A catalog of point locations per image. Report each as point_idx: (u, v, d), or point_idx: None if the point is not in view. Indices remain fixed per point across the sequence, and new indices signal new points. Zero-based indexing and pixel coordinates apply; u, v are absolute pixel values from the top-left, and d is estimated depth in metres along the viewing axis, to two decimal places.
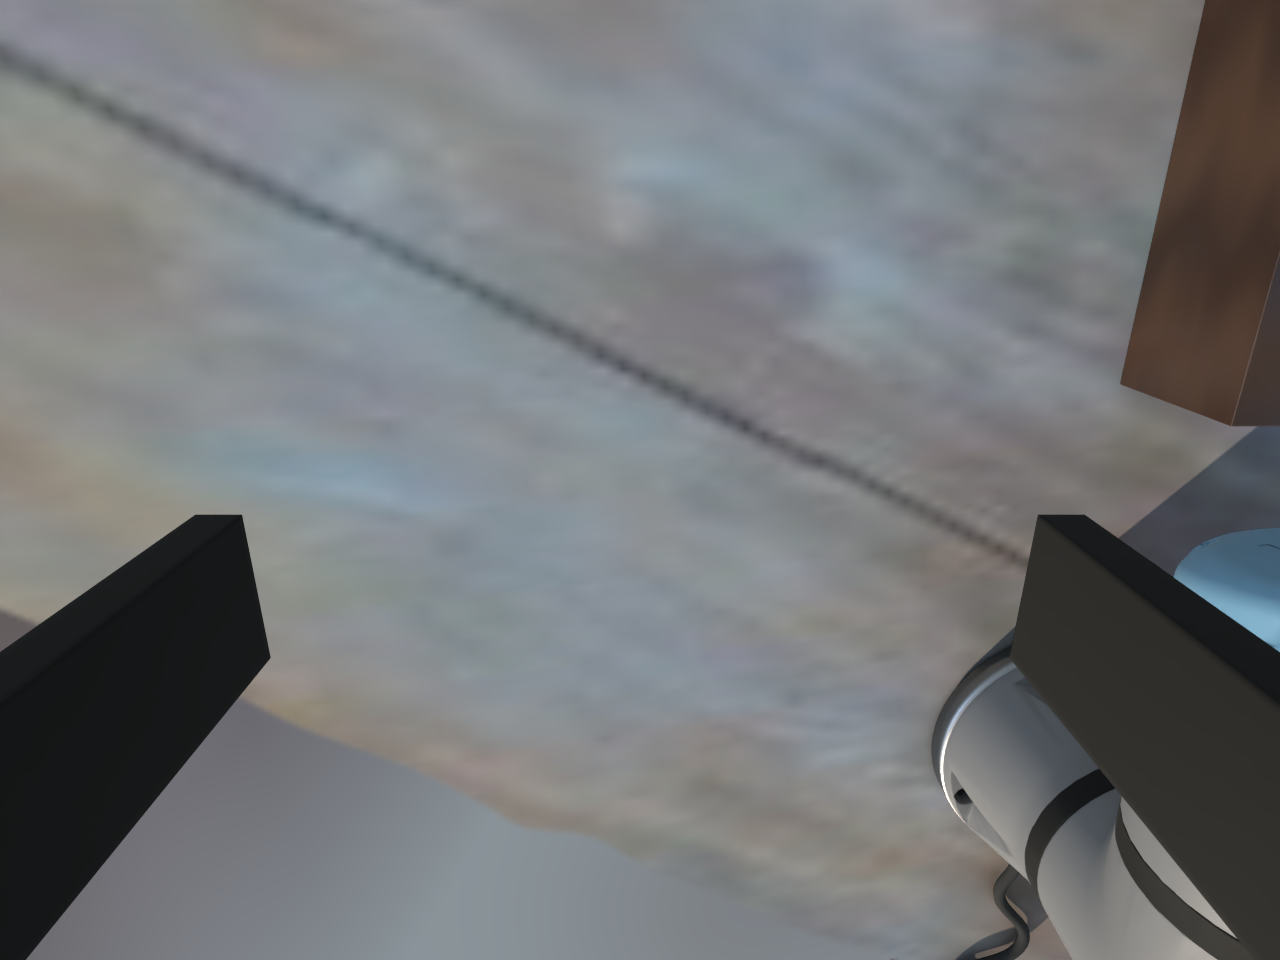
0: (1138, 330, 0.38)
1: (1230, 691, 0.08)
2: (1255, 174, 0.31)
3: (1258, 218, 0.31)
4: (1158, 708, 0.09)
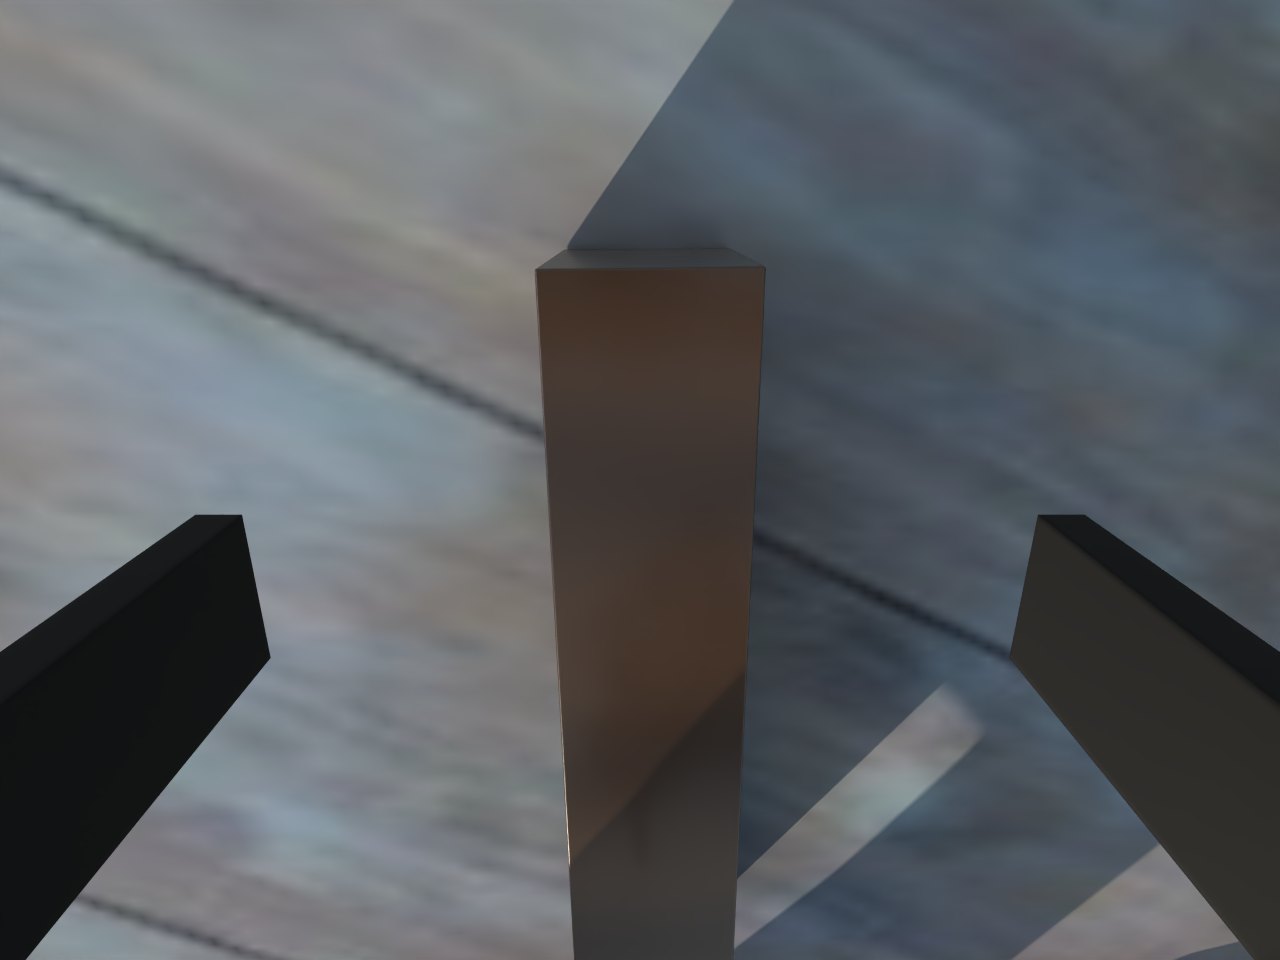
0: None
1: (1230, 691, 0.08)
2: None
3: None
4: (1158, 708, 0.09)
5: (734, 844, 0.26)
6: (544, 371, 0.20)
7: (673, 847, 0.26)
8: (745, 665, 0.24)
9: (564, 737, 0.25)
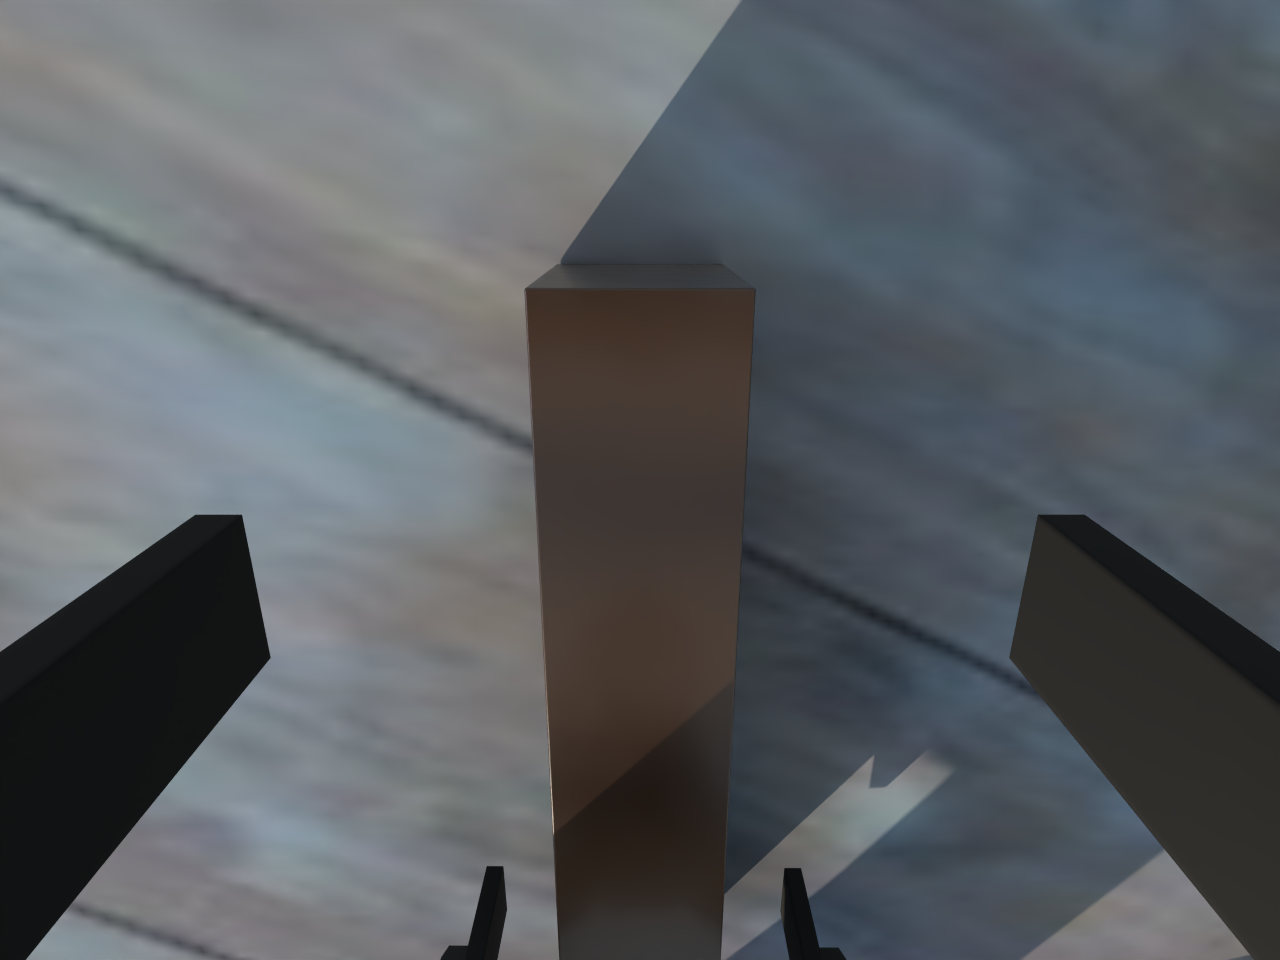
0: None
1: (1229, 691, 0.08)
2: None
3: None
4: (1158, 708, 0.09)
5: (721, 861, 0.26)
6: (533, 390, 0.20)
7: (660, 864, 0.26)
8: (733, 684, 0.24)
9: (551, 753, 0.25)
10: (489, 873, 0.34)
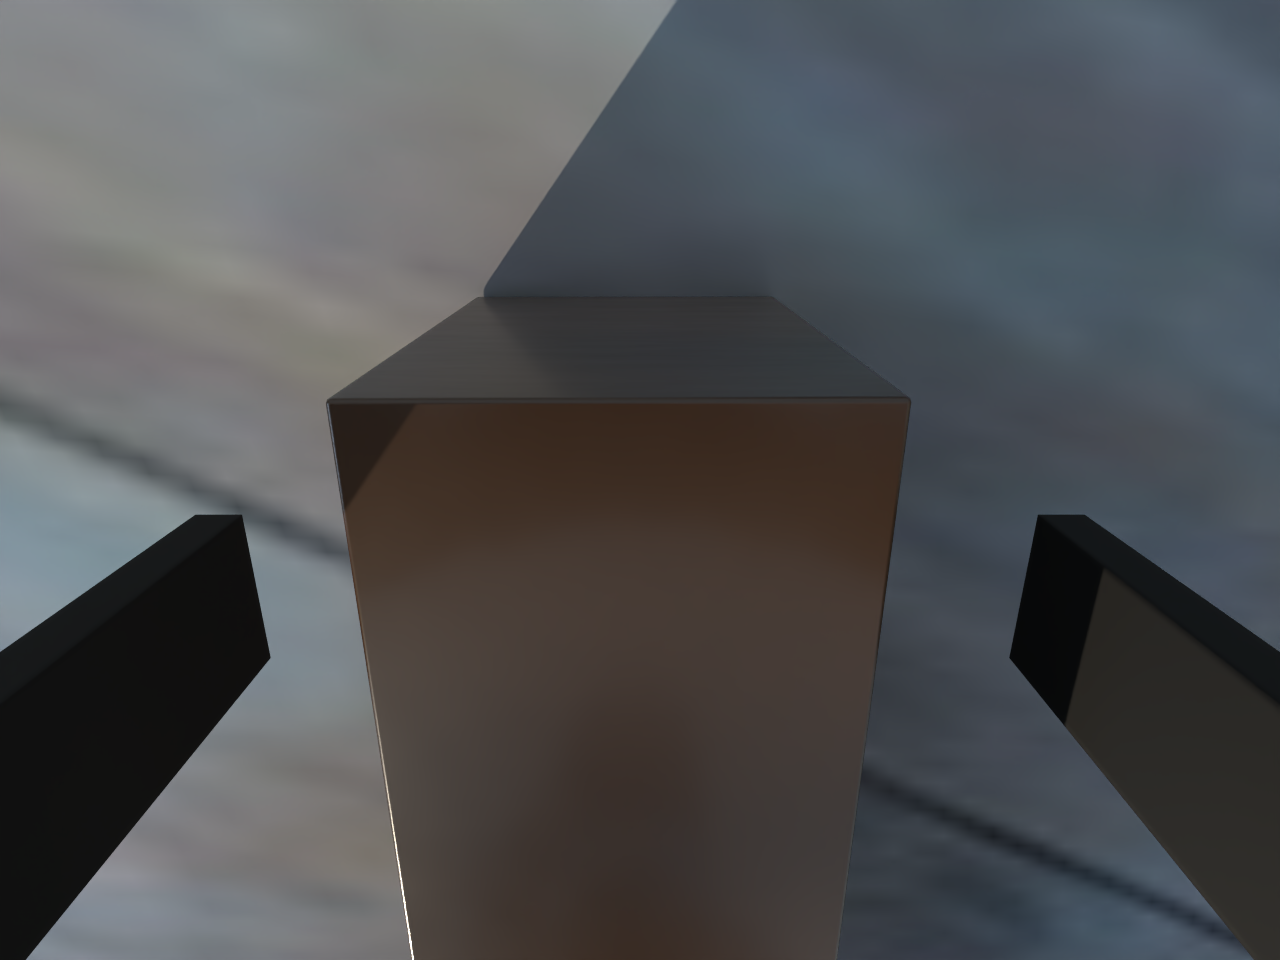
0: None
1: (1230, 691, 0.08)
2: None
3: None
4: (1158, 708, 0.09)
5: None
6: (368, 629, 0.09)
7: None
8: None
9: None
10: None
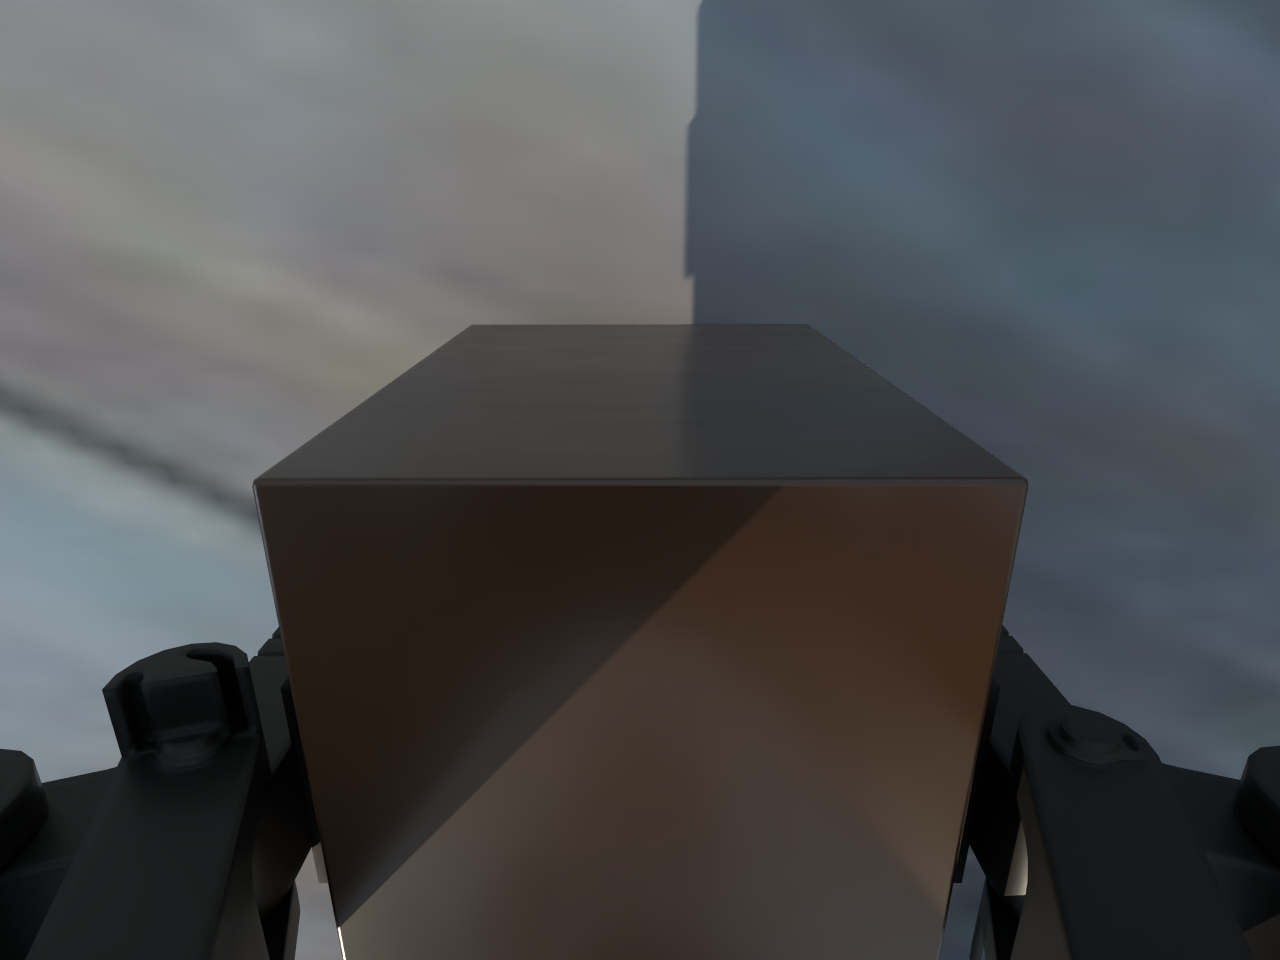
0: None
1: None
2: None
3: None
4: None
5: None
6: (316, 765, 0.07)
7: None
8: None
9: None
10: None
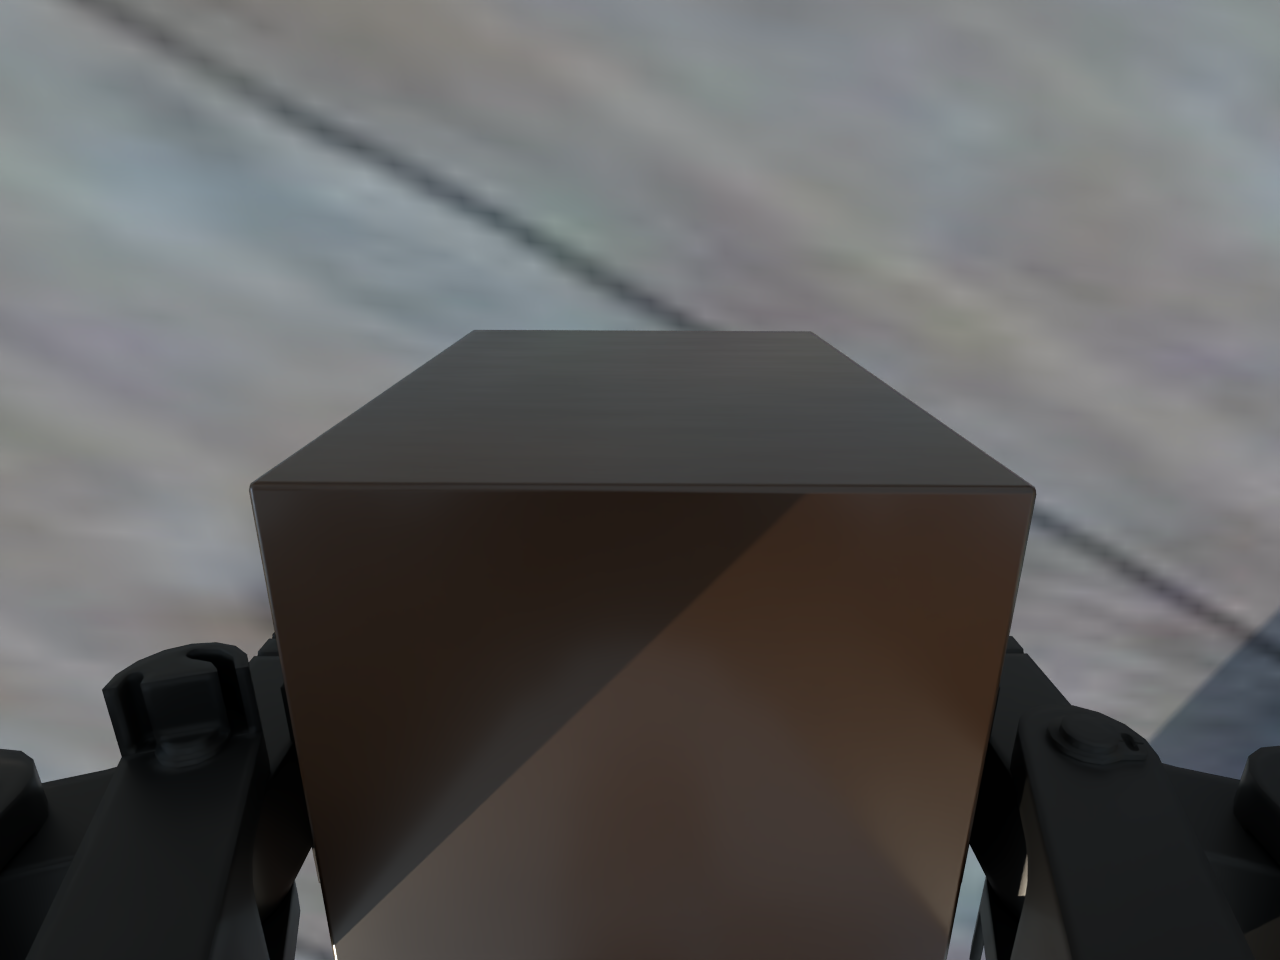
0: None
1: None
2: None
3: None
4: None
5: None
6: (310, 773, 0.07)
7: None
8: None
9: None
10: None
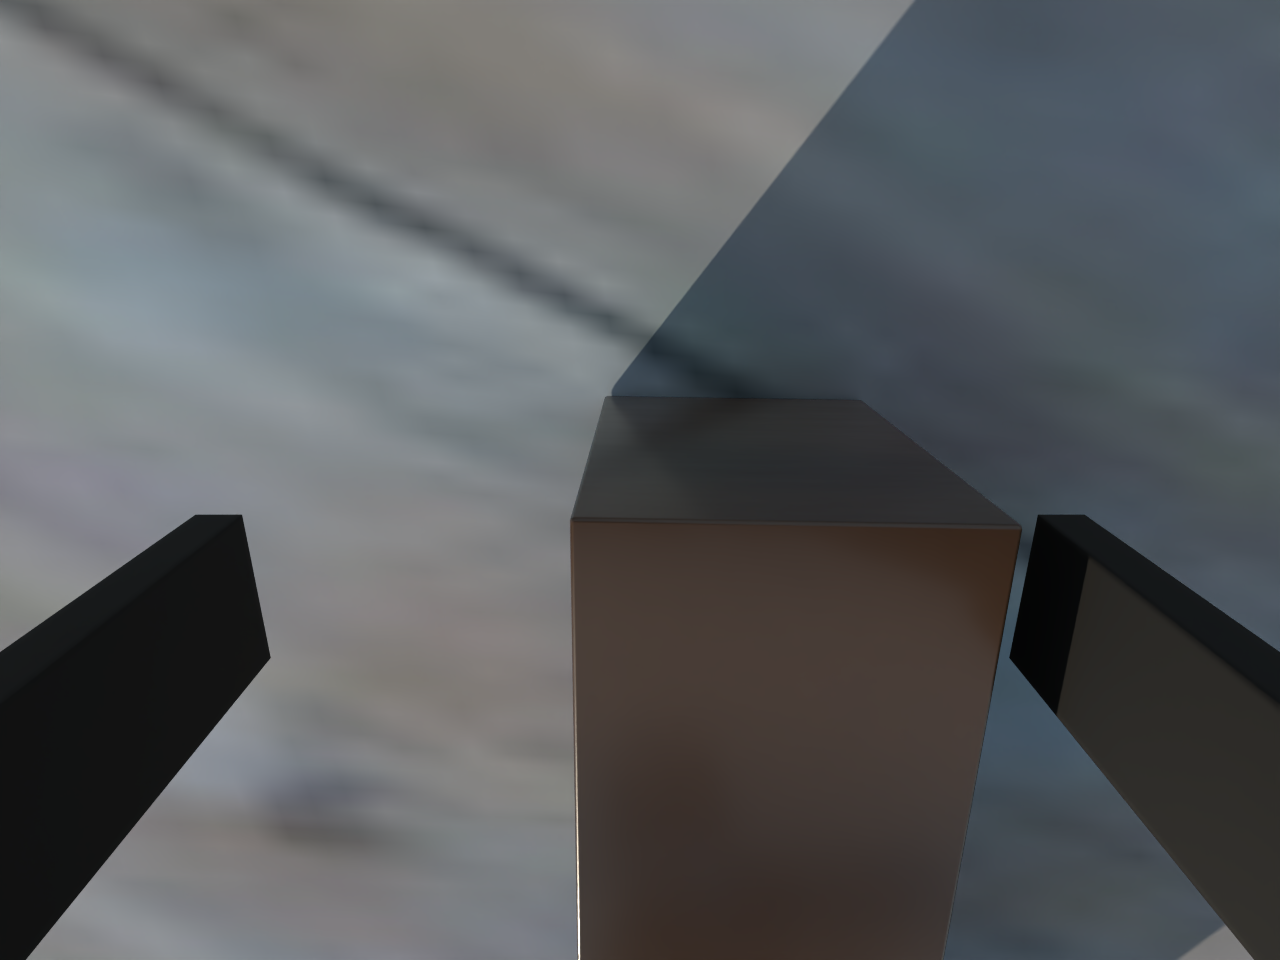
0: None
1: (1230, 691, 0.08)
2: None
3: None
4: (1158, 708, 0.09)
5: None
6: (580, 693, 0.11)
7: None
8: None
9: None
10: None
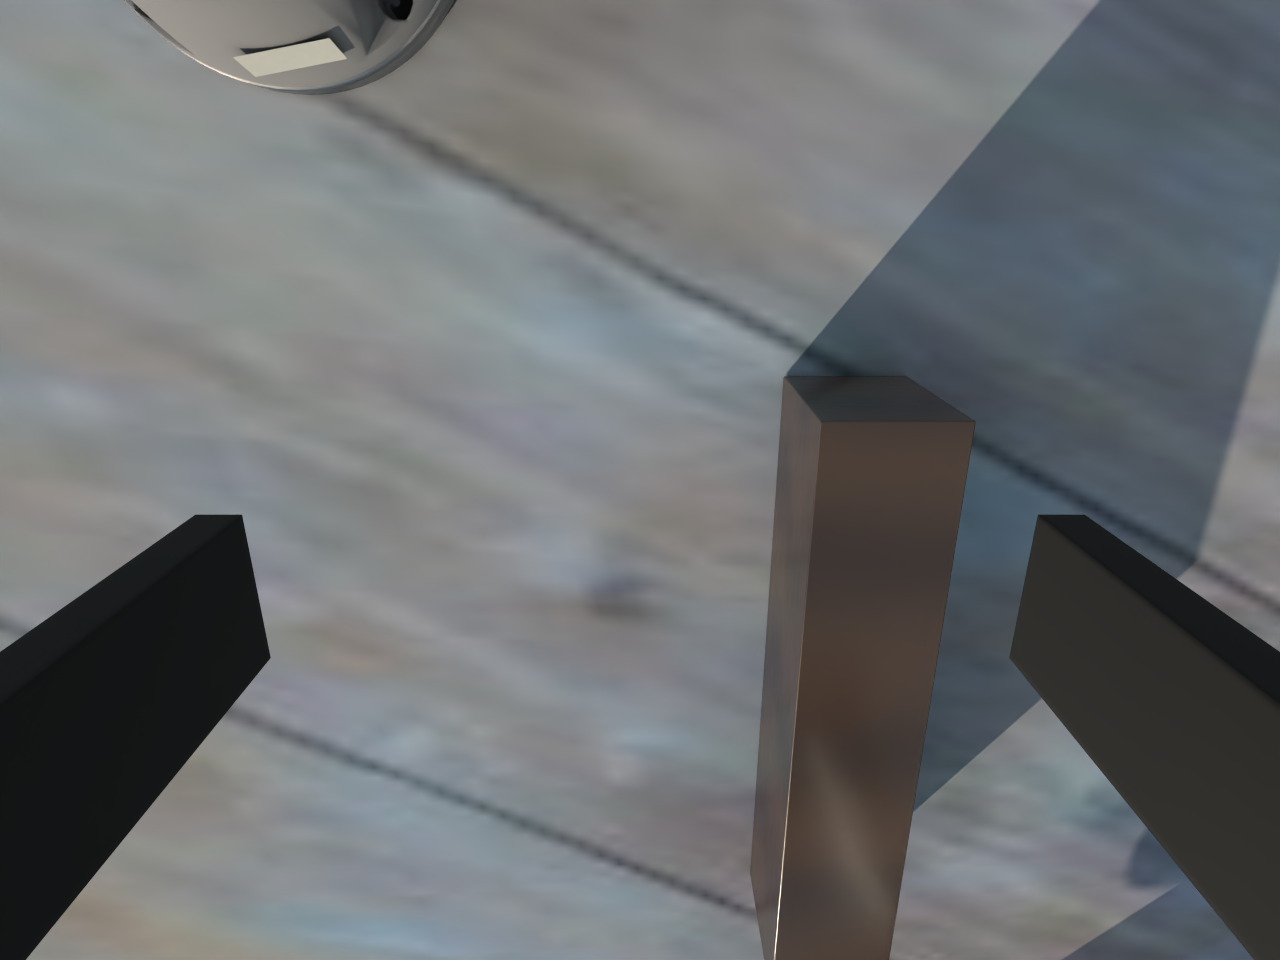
0: (754, 845, 0.46)
1: (1230, 691, 0.08)
2: (775, 818, 0.39)
3: (775, 855, 0.39)
4: (1158, 708, 0.09)
5: (909, 816, 0.36)
6: (818, 486, 0.30)
7: (864, 818, 0.36)
8: (932, 686, 0.33)
9: (795, 735, 0.34)
10: None
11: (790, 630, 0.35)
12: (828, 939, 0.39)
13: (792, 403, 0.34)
